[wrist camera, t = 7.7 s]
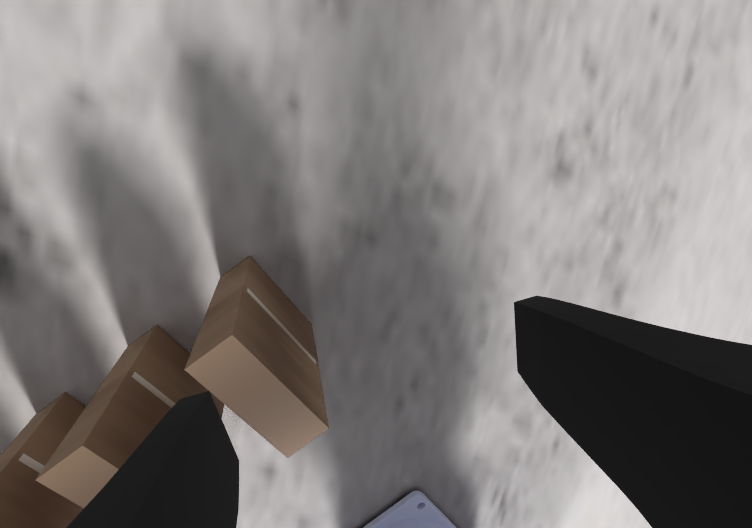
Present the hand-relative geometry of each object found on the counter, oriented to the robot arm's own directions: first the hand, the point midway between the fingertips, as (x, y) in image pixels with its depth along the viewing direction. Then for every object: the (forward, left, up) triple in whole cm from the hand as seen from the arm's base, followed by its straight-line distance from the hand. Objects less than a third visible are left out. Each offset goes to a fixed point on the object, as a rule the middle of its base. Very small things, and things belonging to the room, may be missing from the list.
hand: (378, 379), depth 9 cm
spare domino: (0, +4, -10) cm, 10 cm away
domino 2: (0, +9, -10) cm, 13 cm away
